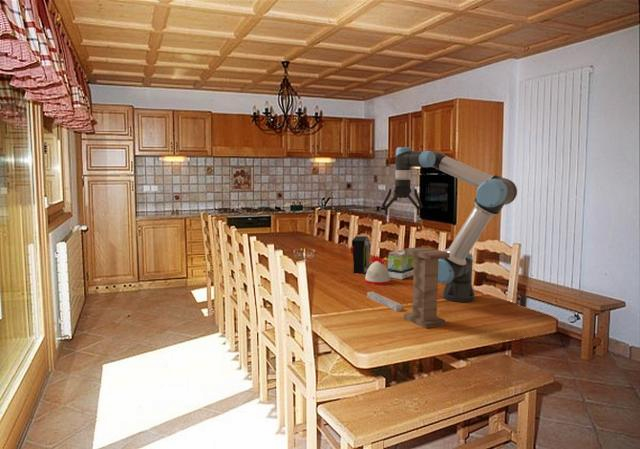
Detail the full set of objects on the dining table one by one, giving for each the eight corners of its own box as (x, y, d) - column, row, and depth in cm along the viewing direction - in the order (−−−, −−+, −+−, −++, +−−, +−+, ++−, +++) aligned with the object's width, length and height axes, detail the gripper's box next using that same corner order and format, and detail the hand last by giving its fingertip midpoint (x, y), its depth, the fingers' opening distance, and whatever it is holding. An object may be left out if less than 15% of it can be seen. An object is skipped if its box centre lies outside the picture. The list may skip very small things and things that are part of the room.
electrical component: (367, 274, 289) (367, 241, 287) (350, 273, 291) (350, 240, 289) (370, 268, 306) (370, 236, 304) (354, 267, 308) (354, 236, 306)
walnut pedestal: (446, 325, 197) (449, 252, 194) (427, 329, 193) (430, 254, 189) (420, 314, 211) (423, 246, 208) (402, 317, 207) (404, 248, 203)
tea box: (402, 279, 275) (403, 254, 274) (387, 277, 281) (387, 252, 280) (414, 275, 287) (415, 250, 285) (399, 272, 293) (400, 248, 292)
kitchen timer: (374, 278, 280) (374, 252, 278) (394, 281, 271) (395, 255, 269) (360, 282, 269) (360, 255, 267) (381, 286, 260) (382, 259, 258)
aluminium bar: (401, 311, 218) (401, 304, 217) (396, 311, 216) (396, 305, 216) (372, 297, 240) (372, 291, 240) (367, 297, 239) (367, 292, 238)
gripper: (427, 178, 241) (425, 221, 244) (376, 178, 242) (375, 220, 244) (429, 179, 234) (428, 223, 236) (378, 179, 234) (377, 222, 237)
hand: (401, 222), depth 240 cm, fingers open, 13 cm apart
